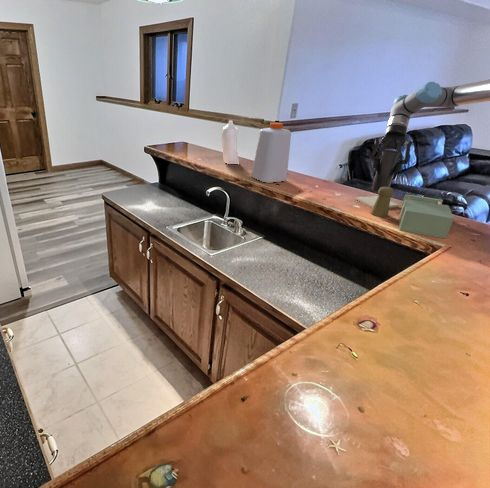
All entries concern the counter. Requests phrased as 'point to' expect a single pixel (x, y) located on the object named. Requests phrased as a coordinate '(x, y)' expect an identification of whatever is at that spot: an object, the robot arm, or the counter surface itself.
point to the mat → (373, 201)
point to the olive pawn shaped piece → (382, 202)
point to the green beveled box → (425, 218)
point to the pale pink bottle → (230, 143)
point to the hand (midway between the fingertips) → (384, 175)
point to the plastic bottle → (272, 154)
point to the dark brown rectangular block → (385, 169)
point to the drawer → (422, 199)
